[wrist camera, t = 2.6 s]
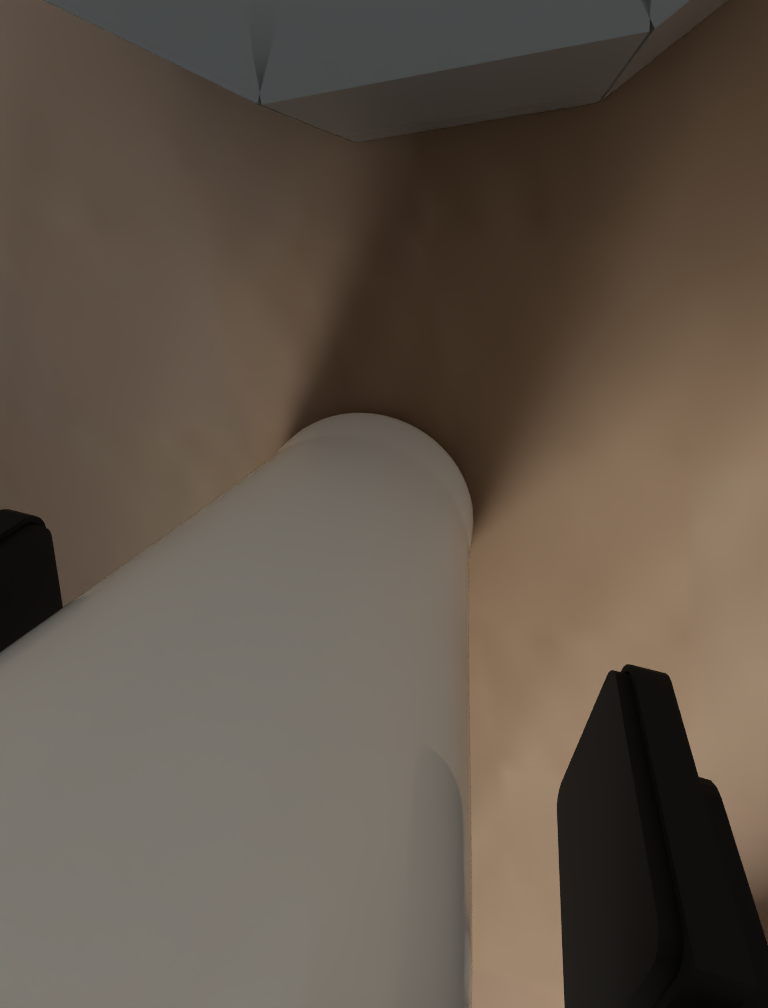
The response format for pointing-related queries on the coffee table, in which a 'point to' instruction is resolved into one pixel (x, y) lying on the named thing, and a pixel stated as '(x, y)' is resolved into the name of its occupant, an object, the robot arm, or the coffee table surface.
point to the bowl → (403, 53)
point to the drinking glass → (254, 749)
